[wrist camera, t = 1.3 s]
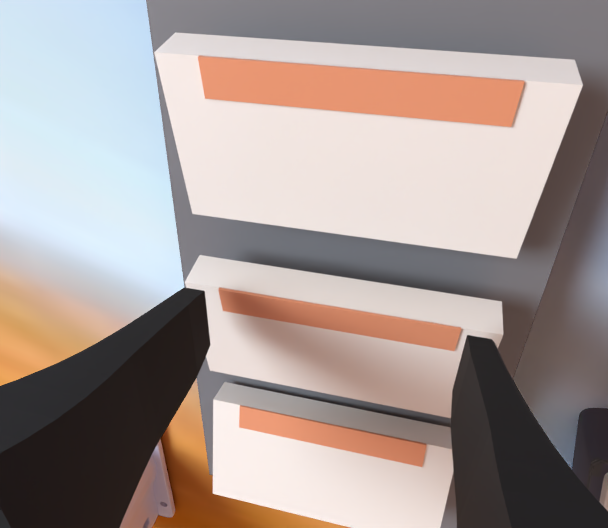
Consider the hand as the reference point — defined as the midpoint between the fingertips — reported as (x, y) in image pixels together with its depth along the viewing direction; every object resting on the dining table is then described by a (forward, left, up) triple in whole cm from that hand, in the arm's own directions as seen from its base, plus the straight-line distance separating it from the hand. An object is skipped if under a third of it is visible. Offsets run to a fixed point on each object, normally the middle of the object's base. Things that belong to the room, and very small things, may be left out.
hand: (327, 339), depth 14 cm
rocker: (-2, 0, -2) cm, 3 cm away
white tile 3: (+5, 0, -2) cm, 5 cm away
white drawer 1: (-8, 0, -2) cm, 9 cm away
